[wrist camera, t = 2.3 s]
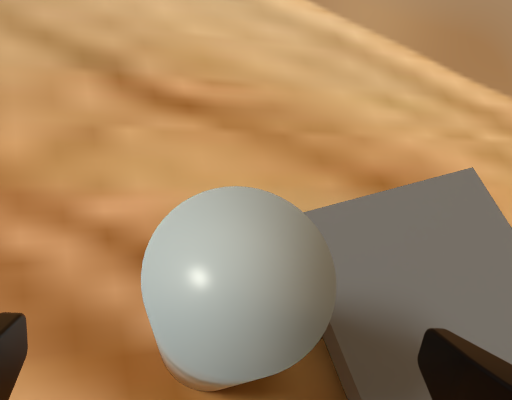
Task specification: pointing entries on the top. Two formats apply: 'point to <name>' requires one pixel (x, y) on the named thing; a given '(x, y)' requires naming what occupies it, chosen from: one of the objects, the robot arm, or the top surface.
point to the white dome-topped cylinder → (236, 287)
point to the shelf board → (415, 280)
